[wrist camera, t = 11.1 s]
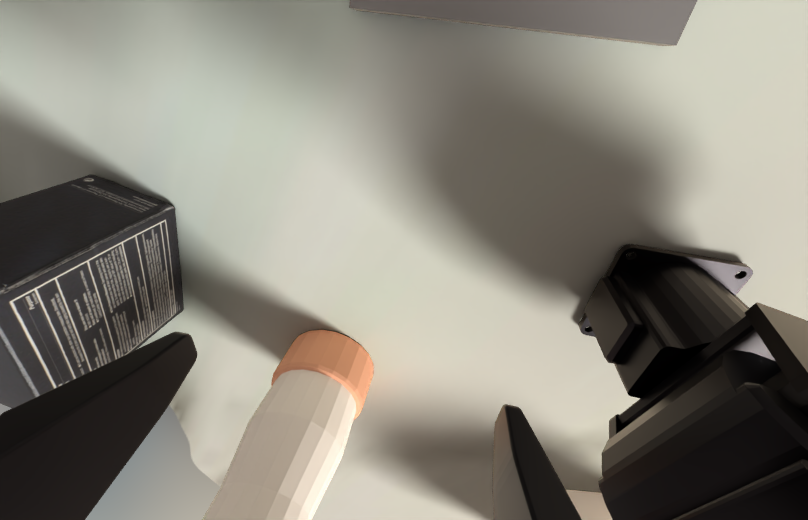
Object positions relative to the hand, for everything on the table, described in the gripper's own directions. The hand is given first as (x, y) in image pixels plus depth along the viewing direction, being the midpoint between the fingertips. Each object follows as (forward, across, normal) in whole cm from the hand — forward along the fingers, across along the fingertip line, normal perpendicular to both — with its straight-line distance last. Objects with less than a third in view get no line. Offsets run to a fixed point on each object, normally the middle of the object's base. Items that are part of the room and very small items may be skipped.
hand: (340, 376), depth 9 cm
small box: (+12, +20, +7) cm, 25 cm away
